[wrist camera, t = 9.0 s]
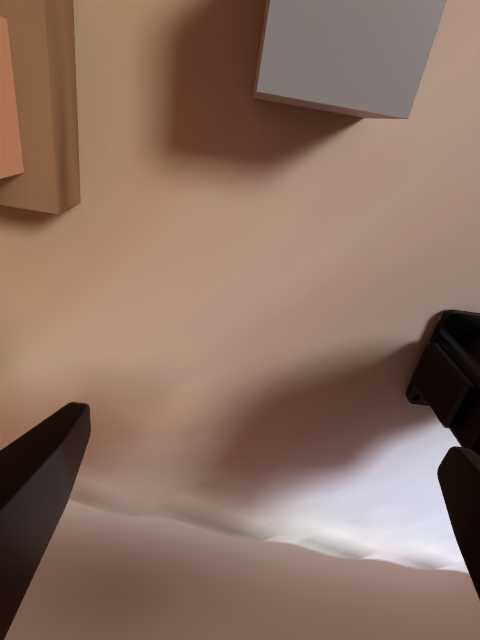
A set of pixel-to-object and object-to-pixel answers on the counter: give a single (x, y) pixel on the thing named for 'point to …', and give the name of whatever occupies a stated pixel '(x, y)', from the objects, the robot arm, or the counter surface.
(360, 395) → the counter surface
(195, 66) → the counter surface
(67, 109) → the walnut slab
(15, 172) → the terracotta cube
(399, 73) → the grey cube
